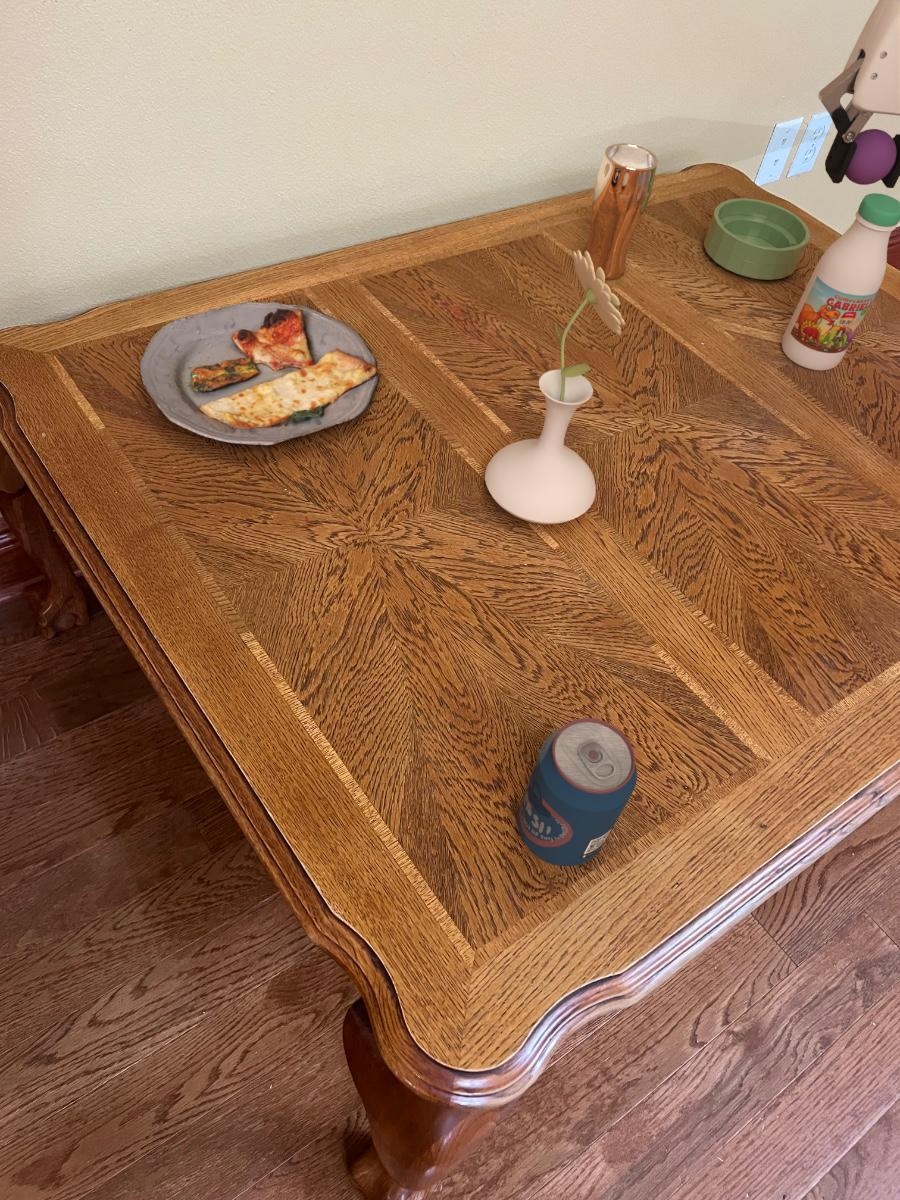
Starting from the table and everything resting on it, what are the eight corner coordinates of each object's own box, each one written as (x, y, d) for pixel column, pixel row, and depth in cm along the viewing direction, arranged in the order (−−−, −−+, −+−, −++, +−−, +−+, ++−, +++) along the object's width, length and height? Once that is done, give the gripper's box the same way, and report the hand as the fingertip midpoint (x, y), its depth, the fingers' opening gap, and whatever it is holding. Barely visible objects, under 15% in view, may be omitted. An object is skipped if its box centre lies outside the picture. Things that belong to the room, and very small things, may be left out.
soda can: (497, 814, 73) (524, 735, 64) (567, 776, 76) (603, 695, 67) (547, 889, 70) (584, 817, 61) (619, 847, 73) (664, 772, 63)
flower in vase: (597, 538, 93) (672, 324, 74) (484, 530, 92) (530, 310, 73) (584, 450, 102) (649, 236, 82) (480, 441, 101) (521, 222, 81)
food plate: (312, 298, 113) (312, 272, 111) (417, 412, 102) (420, 386, 100) (110, 352, 103) (105, 325, 100) (203, 486, 92) (200, 459, 89)
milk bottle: (767, 338, 119) (836, 186, 104) (817, 331, 122) (891, 182, 106) (801, 376, 115) (878, 223, 100) (852, 368, 117) (934, 218, 102)
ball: (872, 171, 97) (895, 122, 93) (889, 196, 94) (913, 146, 90) (826, 167, 96) (848, 117, 92) (841, 192, 93) (864, 141, 89)
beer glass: (568, 254, 126) (594, 142, 115) (615, 251, 128) (645, 141, 117) (588, 283, 122) (617, 171, 111) (635, 280, 124) (669, 169, 113)
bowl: (781, 235, 137) (795, 202, 133) (806, 287, 128) (821, 254, 124) (694, 227, 135) (705, 194, 131) (713, 279, 127) (726, 245, 123)
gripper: (1025, -32, 84) (923, 167, 98) (846, -53, 82) (768, 154, 96) (1063, 0, 79) (951, 205, 93) (874, -22, 77) (788, 191, 91)
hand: (859, 177), depth 95 cm, fingers closed on ball, 4 cm apart
